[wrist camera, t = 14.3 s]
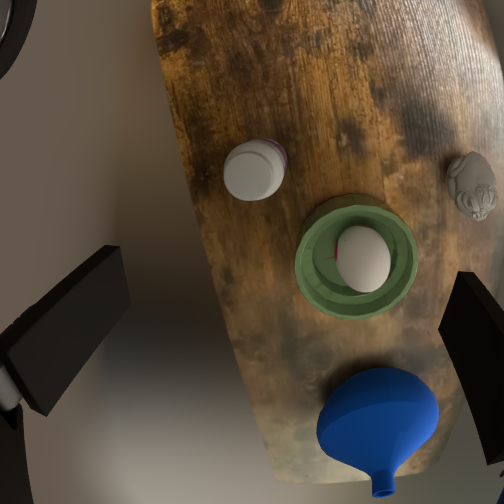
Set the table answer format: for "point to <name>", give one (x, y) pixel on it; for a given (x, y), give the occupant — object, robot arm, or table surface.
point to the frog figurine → (472, 185)
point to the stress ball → (362, 258)
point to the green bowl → (325, 271)
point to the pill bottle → (255, 169)
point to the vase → (377, 423)
